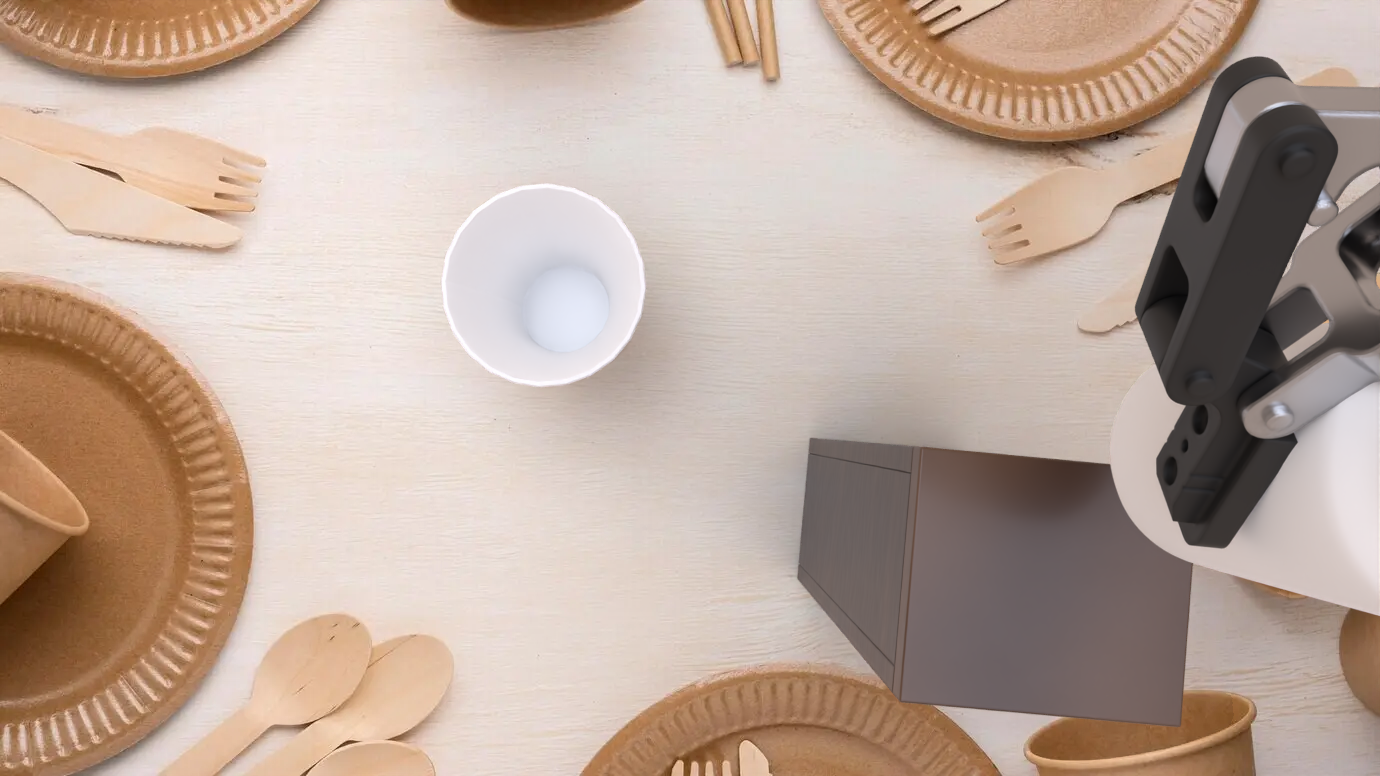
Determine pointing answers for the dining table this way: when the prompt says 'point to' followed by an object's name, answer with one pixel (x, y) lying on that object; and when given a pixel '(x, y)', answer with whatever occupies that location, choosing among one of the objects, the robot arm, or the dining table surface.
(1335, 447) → the can
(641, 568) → the dining table surface
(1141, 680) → the shelf
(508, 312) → the cup
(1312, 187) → the robot arm
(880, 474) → the shelf frame
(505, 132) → the dining table surface
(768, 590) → the dining table surface
